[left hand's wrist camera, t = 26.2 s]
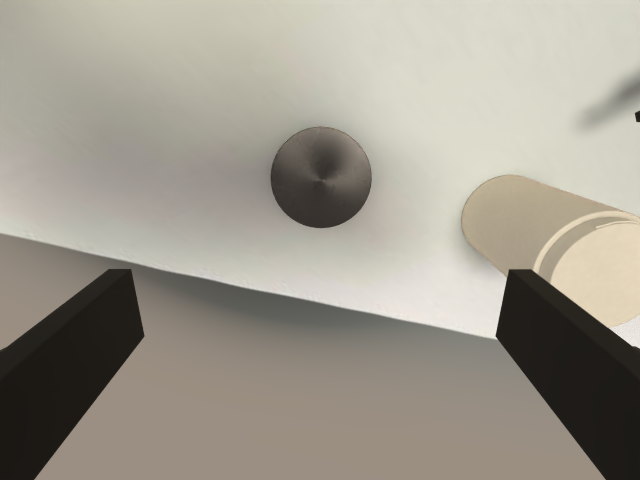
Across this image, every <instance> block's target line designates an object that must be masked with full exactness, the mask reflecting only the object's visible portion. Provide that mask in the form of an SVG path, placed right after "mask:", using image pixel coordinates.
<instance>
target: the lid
mask: <svg viewBox="0 0 640 480" xmlns="http://www.w3.org/2000/svg"><path fill="white" fill-rule="evenodd" d="M271 186H272V190H273V194H274V196H275V199H276V201H277V203H278V204H279V206H280V207H281V209H282V210H283V211H284V212H285V213H286V214H287V215H288V216H289V217H290V218H292V219H293V220H295V221H296V222H298V223H300V224H303V225H306V226H309V227H314V228H328V227H333V226H336V225H339V224H342V223H344V222H346V221H347V220H349V219H350V218H352V217H353V216H354V215H355V214H356V213H357V212H358V211H359V210H360V209H361V208H362V206H363V205H364V203H365V201H366V199H367V197H368V195H369V192H370V187H371V168H370V164H369V161H368V158H367V156H366V154H365V152H364V151H363V149H362V148H361V147H360V145H359V144H358V143H357V142H356V141H355V140H354V139H353V138H351V137H350V136H349V135H347V134H346V133H344V132H342V131H340V130H337V129H334V128H329V127H313V128H309V129H305V130H303V131H300V132H299V133H297V134H295V135H294V136H292V137H291V138H290V139H289V140H288V141H287V142H285V143H284V145H283V146H282V147H281V148H280V150H279V151H278V153H277V155H276V157H275V159H274V162H273V165H272V170H271Z"/></svg>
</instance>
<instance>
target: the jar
mask: <svg viewBox="0 0 640 480" xmlns="http://www.w3.org/2000/svg"><path fill="white" fill-rule="evenodd" d="M462 230H463V233H464V236H465V238H466V239H467V241H468V242H469V243H470V244H471V245H472V246H473V247H474V248H475V249H476V250H477V251H478V252H479V253H480V254H482V255H483V256H484V257H485V258H486V259H487V260H488V261H489V262H490V263H491V264H493V265H494V266H495V267H496V268H497V269H498V270H499V271H500V272H501V273H503V274H504V275H505V276H506V277H507V276H508V271H509V269H532V270H533V271H534V272H535V273H537V274H538V275H539V276H541V277H542V278H543V279H545V280H546V281H547V282H549V283H550V284H551V285H552V286H554V287H555V288H556V289H558V290H559V291H560V292H562V293H563V294H564V295H566V296H567V297H568V298H570V299H571V300H572V301H573V302H575V303H576V304H577V305H579V306H580V307H581V308H583V309H584V310H585V311H587V312H588V313H589V314H590V315H592V316H593V317H594V318H596V319H597V320H598V321H600V322H601V323H602V324H604V325H605V326H606V327H608V328H610V327H614V326H617V325H620V324H623V323H625V322H627V321H629V320H631V319H633V318H635V317H636V316H638V315H639V314H640V218H639V217H638V216H635V215H633V214H631V213H628V212H625V211H622V210H619V209H616V208H613V207H610V206H607V205H604V204H601V203H598V202H595V201H592V200H590V199H587V198H584V197H581V196H578V195H575V194H572V193H569V192H566V191H563V190H560V189H557V188H554V187H551V186H548V185H545V184H542V183H539V182H536V181H534V180H531V179H528V178H525V177H521V176H516V175H505V176H500V177H496V178H493V179H491V180H489V181H487V182H485V183H484V184H482V185H481V186H480V187H478V188H477V189H476V190H475V191H474V192H473V193H472V195H471V196H470V197H469V199H468V201H467V202H466V204H465V207H464V209H463V213H462Z"/></svg>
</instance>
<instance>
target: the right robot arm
mask: <svg viewBox="0 0 640 480" xmlns="http://www.w3.org/2000/svg"><path fill="white" fill-rule="evenodd" d="M635 116H636V122H640V111H638V112H636V113H635Z"/></svg>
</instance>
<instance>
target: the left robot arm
mask: <svg viewBox="0 0 640 480" xmlns="http://www.w3.org/2000/svg"><path fill="white" fill-rule="evenodd" d="M143 337H144V332H143V327H142V322H141V317H140V312H139V307H138V302H137V296H136V292H135V286H134V282H133V276H132V271H131V269H108V270H107V271H106V272H105V273H103V274H102V275H101V276H99V277H98V278H97V279H95V280H94V281H93V282H91V283H90V284H89V285H88V286H86V287H85V288H84V289H82V290H81V291H80V292H78V293H77V294H76V295H74V296H73V297H72V298H70V299H69V300H68V301H67V302H65V303H64V304H63V305H61V306H60V307H59V308H57V309H56V310H55V311H53V312H52V313H51V314H50V315H48V316H47V317H46V318H44V319H43V320H42V321H40V322H39V323H38V324H36V325H35V326H34V327H32V328H31V329H30V330H29V331H27V332H26V333H25V334H23V335H22V336H21V337H19V338H18V339H17V340H15V341H14V342H13V343H11V344H10V345H9V346H8V347H6V348H4V349H2V350H0V480H34V479H35V478H36V477H37V475H38V474H39V473H40V471H41V470H42V469H43V467H44V466H45V465H46V464H47V462H48V461H49V460H50V458H51V457H52V456H53V454H54V453H55V452H56V451H57V449H58V448H59V447H60V445H61V444H62V443H63V441H64V440H65V439H66V438H67V436H68V435H69V434H70V432H71V431H72V430H73V428H74V427H75V426H76V425H77V423H78V422H79V421H80V419H81V418H82V417H83V415H84V414H85V413H86V412H87V410H88V409H89V408H90V406H91V405H92V404H93V402H94V401H95V400H96V399H97V397H98V396H99V395H100V393H101V392H102V391H103V389H104V388H105V387H106V385H107V384H108V383H109V382H110V380H111V379H112V378H113V376H114V375H115V374H116V373H117V371H118V370H119V369H120V367H121V366H122V365H123V363H124V362H125V361H126V359H127V358H128V357H129V356H130V354H131V353H132V352H133V350H134V349H135V348H136V347H137V345H138V344H139V343H140V341H141V340H142V339H143ZM496 337H497V339H498V340H499V341H500V343H501V344H502V345H503V347H504V348H505V349H506V350H507V352H508V353H509V354H510V356H511V357H512V358H513V360H514V361H515V362H516V363H517V365H518V366H519V367H520V369H521V370H522V371H523V373H524V374H525V375H526V376H527V378H528V379H529V380H530V382H531V383H532V384H533V386H534V387H535V388H536V389H537V391H538V392H539V393H540V395H541V396H542V397H543V399H544V400H545V401H546V402H547V404H548V405H549V406H550V408H551V409H552V410H553V412H554V413H555V414H556V415H557V417H558V418H559V419H560V421H561V422H562V423H563V425H564V426H565V427H566V428H567V430H568V431H569V432H570V434H571V435H572V436H573V438H574V439H575V440H576V441H577V443H578V444H579V445H580V447H581V448H582V449H583V451H584V452H585V453H586V454H587V456H588V457H589V458H590V460H591V461H592V462H593V464H594V465H595V466H596V467H597V469H598V470H599V471H600V473H601V474H602V475H603V477H604V478H605V479H606V480H640V349H639V348H637V347H635V346H631V345H630V344H629V343H627V342H626V341H625V340H623V339H622V338H621V337H619V336H618V335H617V334H615V333H614V332H613V331H611V330H610V329H609V328H608V327H606V326H605V325H604V324H602V323H601V322H600V321H598V320H597V319H596V318H594V317H593V316H592V315H590V314H589V313H588V312H587V311H585V310H584V309H583V308H581V307H580V306H579V305H577V304H576V303H575V302H573V301H572V300H571V299H570V298H568V297H567V296H566V295H564V294H563V293H562V292H560V291H559V290H558V289H556V288H555V287H554V286H552V285H551V284H550V283H549V282H547V281H546V280H545V279H543V278H542V277H541V276H539V275H538V274H537V273H535V272H534V271H533V270H532V269H509V271H508V276H507V281H506V286H505V291H504V296H503V301H502V306H501V312H500V317H499V322H498V327H497V332H496Z"/></svg>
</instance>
